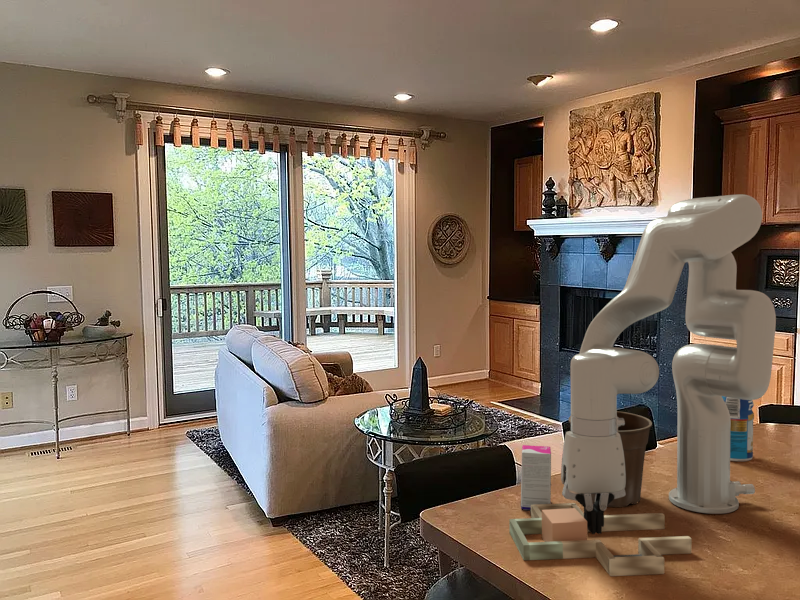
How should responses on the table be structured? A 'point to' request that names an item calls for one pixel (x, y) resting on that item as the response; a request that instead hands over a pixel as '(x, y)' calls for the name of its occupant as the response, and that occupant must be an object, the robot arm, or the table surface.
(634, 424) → the plant pot
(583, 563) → the table surface
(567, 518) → the terracotta block
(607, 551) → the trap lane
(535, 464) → the supplement box
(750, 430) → the blue cylindrical canister
